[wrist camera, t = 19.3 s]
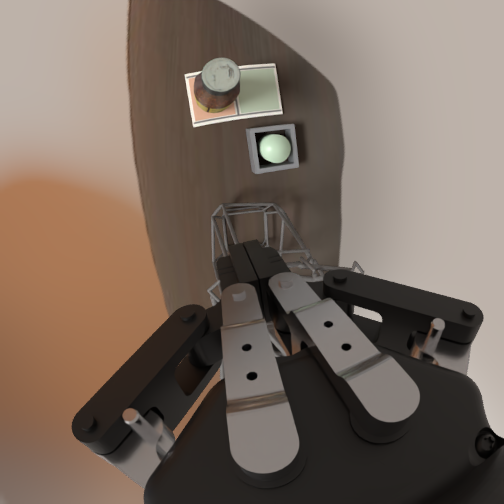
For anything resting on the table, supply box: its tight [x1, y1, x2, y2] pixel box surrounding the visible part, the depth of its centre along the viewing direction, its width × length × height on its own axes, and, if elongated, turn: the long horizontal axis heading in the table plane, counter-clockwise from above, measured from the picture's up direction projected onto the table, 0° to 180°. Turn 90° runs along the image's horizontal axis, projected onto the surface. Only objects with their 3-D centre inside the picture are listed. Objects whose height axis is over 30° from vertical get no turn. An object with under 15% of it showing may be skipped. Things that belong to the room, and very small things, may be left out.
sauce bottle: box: [194, 58, 241, 113], centre depth 32 cm, size 6×6×20 cm
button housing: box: [246, 124, 299, 174], centre depth 46 cm, size 8×8×3 cm
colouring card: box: [185, 64, 283, 127], centre depth 41 cm, size 10×16×1 cm, turn 98°
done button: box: [257, 134, 291, 163], centre depth 45 cm, size 5×5×4 cm
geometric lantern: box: [207, 203, 364, 380], centre depth 38 cm, size 16×16×35 cm
